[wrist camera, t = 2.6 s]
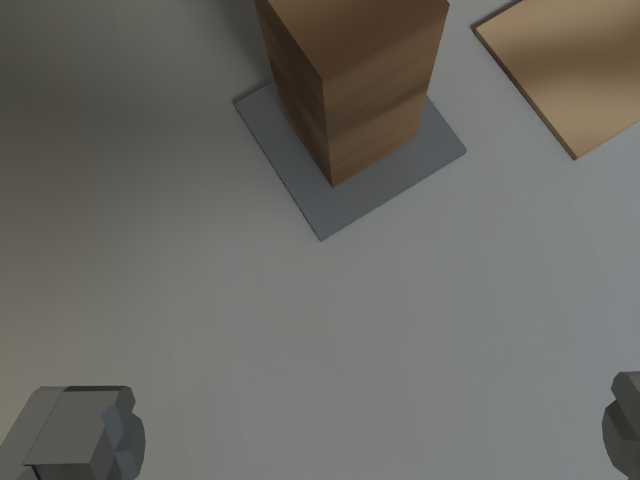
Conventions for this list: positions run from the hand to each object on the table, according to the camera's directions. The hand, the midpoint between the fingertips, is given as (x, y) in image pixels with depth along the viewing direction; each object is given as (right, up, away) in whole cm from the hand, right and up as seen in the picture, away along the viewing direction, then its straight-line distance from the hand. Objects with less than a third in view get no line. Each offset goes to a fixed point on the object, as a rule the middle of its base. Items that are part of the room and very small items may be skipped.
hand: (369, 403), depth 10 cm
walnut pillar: (0, +8, +18) cm, 19 cm away
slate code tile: (0, +8, +18) cm, 20 cm away
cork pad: (+12, +12, +18) cm, 25 cm away
